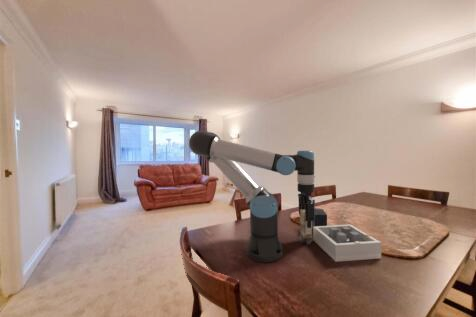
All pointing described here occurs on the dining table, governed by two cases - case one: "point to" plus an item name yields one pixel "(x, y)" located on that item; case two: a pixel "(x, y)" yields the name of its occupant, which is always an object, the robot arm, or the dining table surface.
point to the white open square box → (347, 245)
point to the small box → (319, 218)
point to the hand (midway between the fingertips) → (306, 231)
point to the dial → (343, 235)
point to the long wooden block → (304, 237)
